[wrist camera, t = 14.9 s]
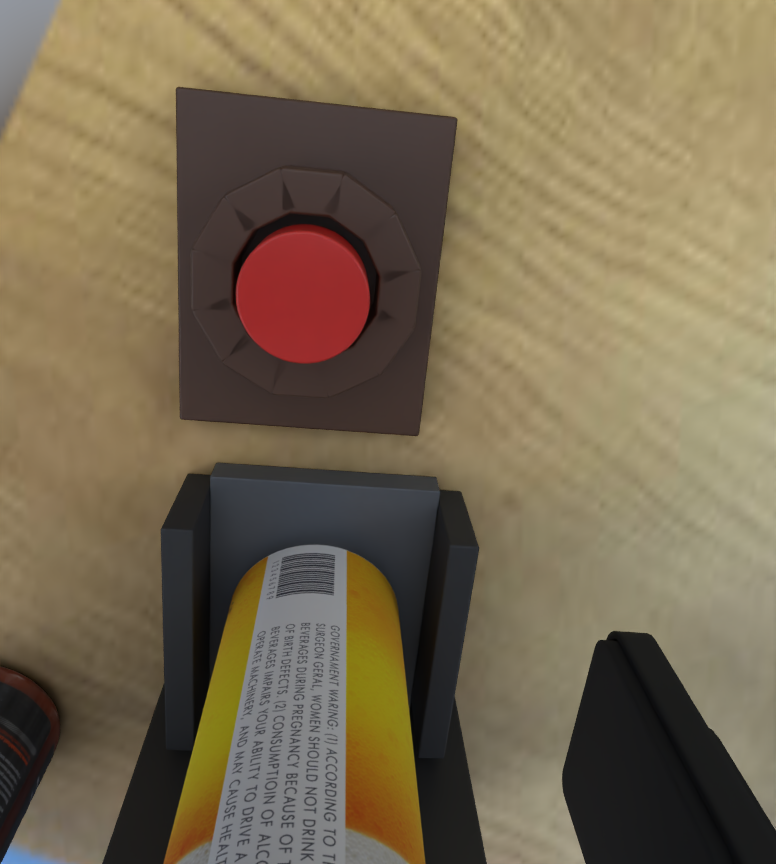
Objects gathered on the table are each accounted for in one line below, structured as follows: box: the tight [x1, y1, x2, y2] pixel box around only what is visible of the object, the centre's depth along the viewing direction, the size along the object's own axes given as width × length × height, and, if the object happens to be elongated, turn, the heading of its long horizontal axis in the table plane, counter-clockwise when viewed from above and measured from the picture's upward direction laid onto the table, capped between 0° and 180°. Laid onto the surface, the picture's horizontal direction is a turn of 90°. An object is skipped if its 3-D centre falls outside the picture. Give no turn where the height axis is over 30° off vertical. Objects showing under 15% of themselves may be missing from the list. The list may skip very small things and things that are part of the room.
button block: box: [176, 87, 457, 436], centre depth 22 cm, size 8×10×3 cm
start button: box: [236, 224, 370, 364], centre depth 20 cm, size 4×4×2 cm
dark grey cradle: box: [102, 463, 487, 864], centre depth 22 cm, size 12×16×14 cm
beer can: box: [163, 545, 425, 864], centre depth 20 cm, size 6×6×15 cm
